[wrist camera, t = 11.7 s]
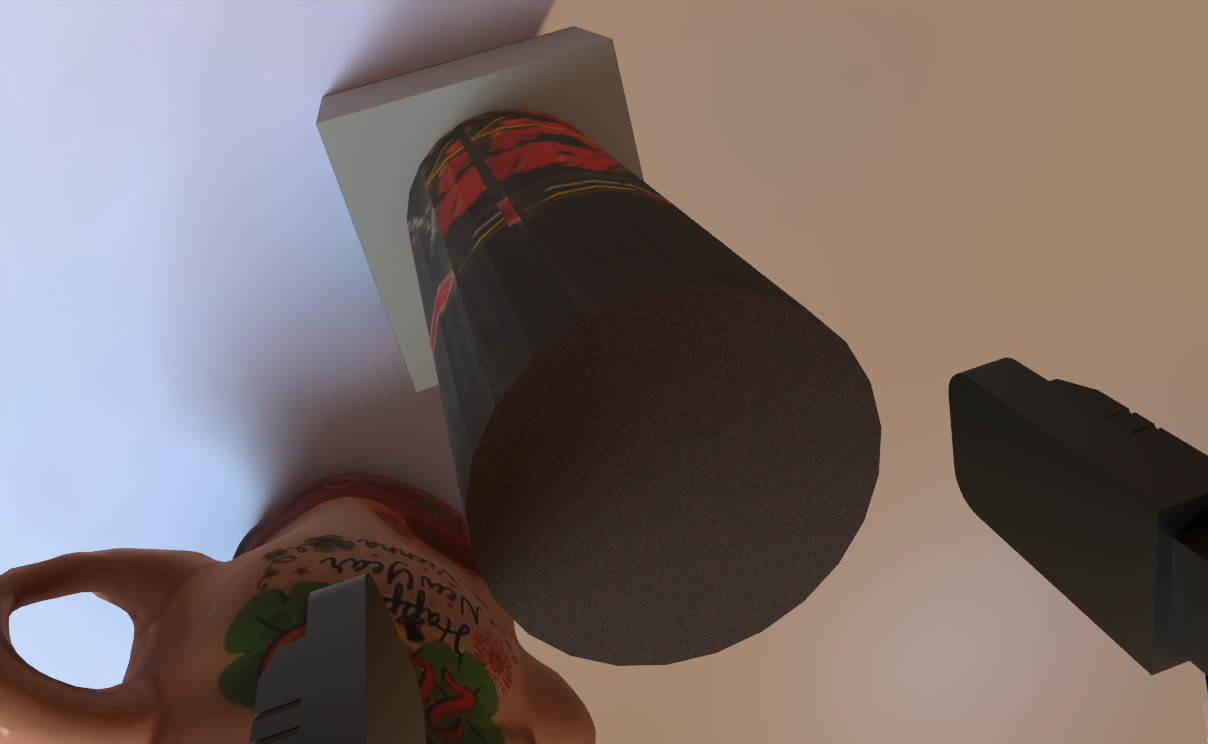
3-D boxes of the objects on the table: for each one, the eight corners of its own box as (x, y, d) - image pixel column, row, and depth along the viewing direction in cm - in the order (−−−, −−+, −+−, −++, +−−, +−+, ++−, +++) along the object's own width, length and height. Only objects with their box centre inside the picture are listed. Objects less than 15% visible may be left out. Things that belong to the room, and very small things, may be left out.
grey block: (322, 97, 28) (315, 123, 24) (573, 26, 29) (612, 38, 25) (407, 331, 32) (416, 392, 28) (629, 262, 33) (672, 309, 28)
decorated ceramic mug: (-34, 609, 32) (-277, 1017, 20) (112, 312, 30) (-64, 570, 17) (475, 757, 40) (528, 1114, 28) (627, 534, 38) (761, 819, 25)
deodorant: (657, 178, 27) (959, 401, 13) (550, 351, 28) (727, 711, 15) (475, 64, 24) (623, 199, 11) (367, 259, 26) (382, 589, 12)
